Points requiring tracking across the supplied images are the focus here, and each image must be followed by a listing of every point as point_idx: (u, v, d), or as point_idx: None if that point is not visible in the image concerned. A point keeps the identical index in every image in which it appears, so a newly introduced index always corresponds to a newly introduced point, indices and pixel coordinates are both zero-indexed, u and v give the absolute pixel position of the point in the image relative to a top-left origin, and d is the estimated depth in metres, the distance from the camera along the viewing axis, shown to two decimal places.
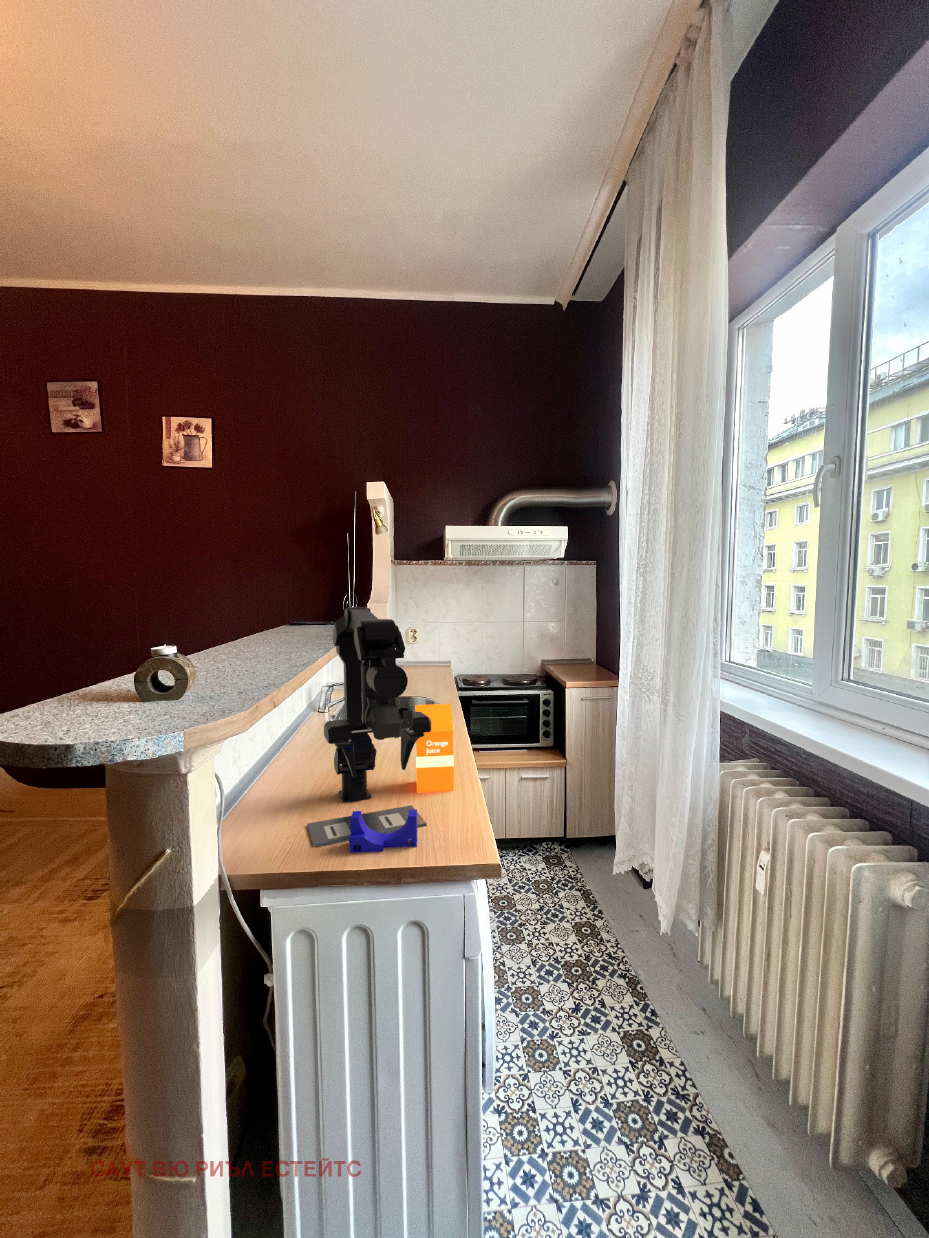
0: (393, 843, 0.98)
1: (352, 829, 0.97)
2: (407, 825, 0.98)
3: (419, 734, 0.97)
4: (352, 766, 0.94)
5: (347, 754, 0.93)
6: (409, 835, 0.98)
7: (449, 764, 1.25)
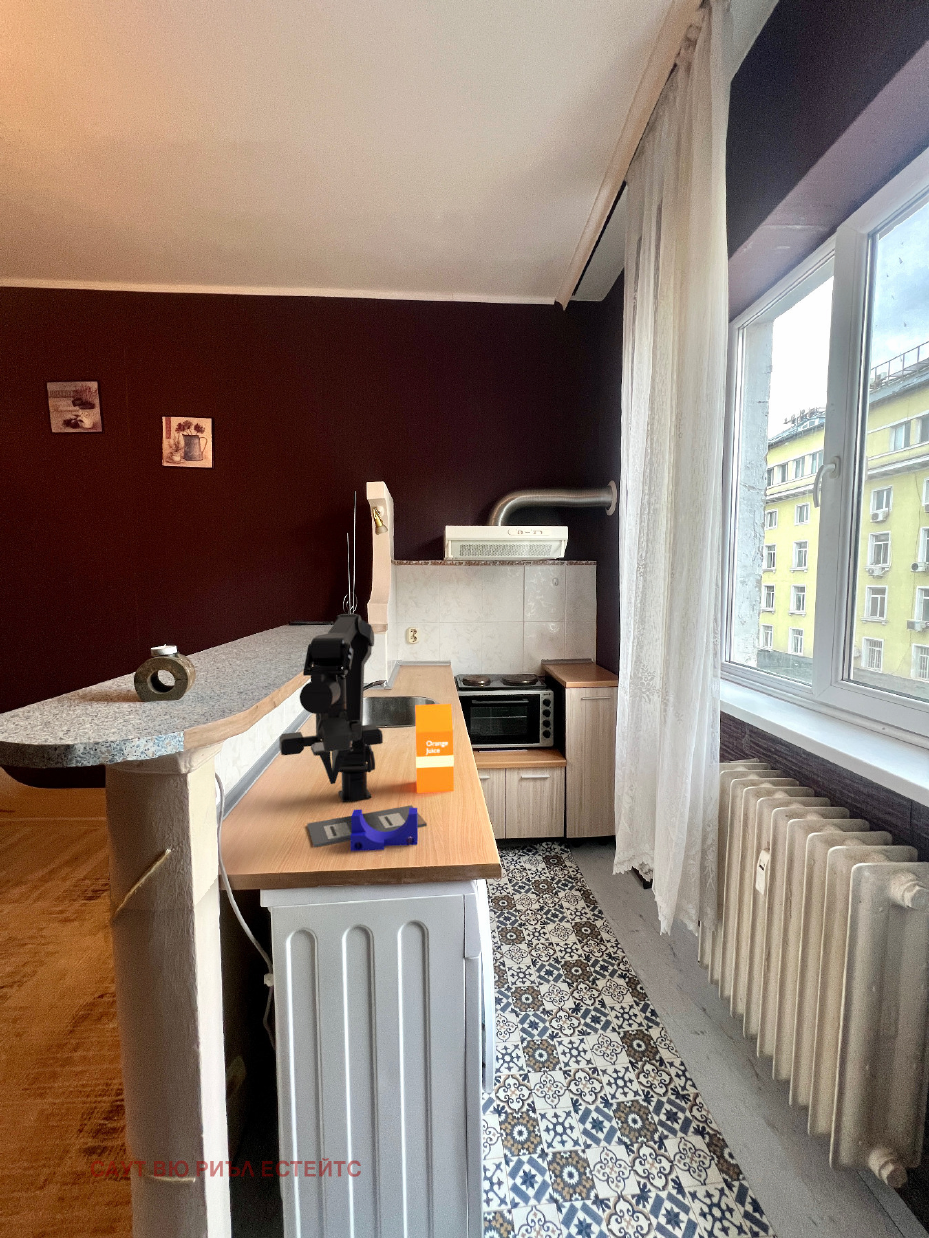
0: (394, 841, 0.98)
1: (353, 827, 0.98)
2: (408, 823, 0.98)
3: (348, 749, 1.01)
4: (329, 773, 1.01)
5: (324, 762, 1.00)
6: (410, 833, 0.98)
7: (449, 764, 1.25)
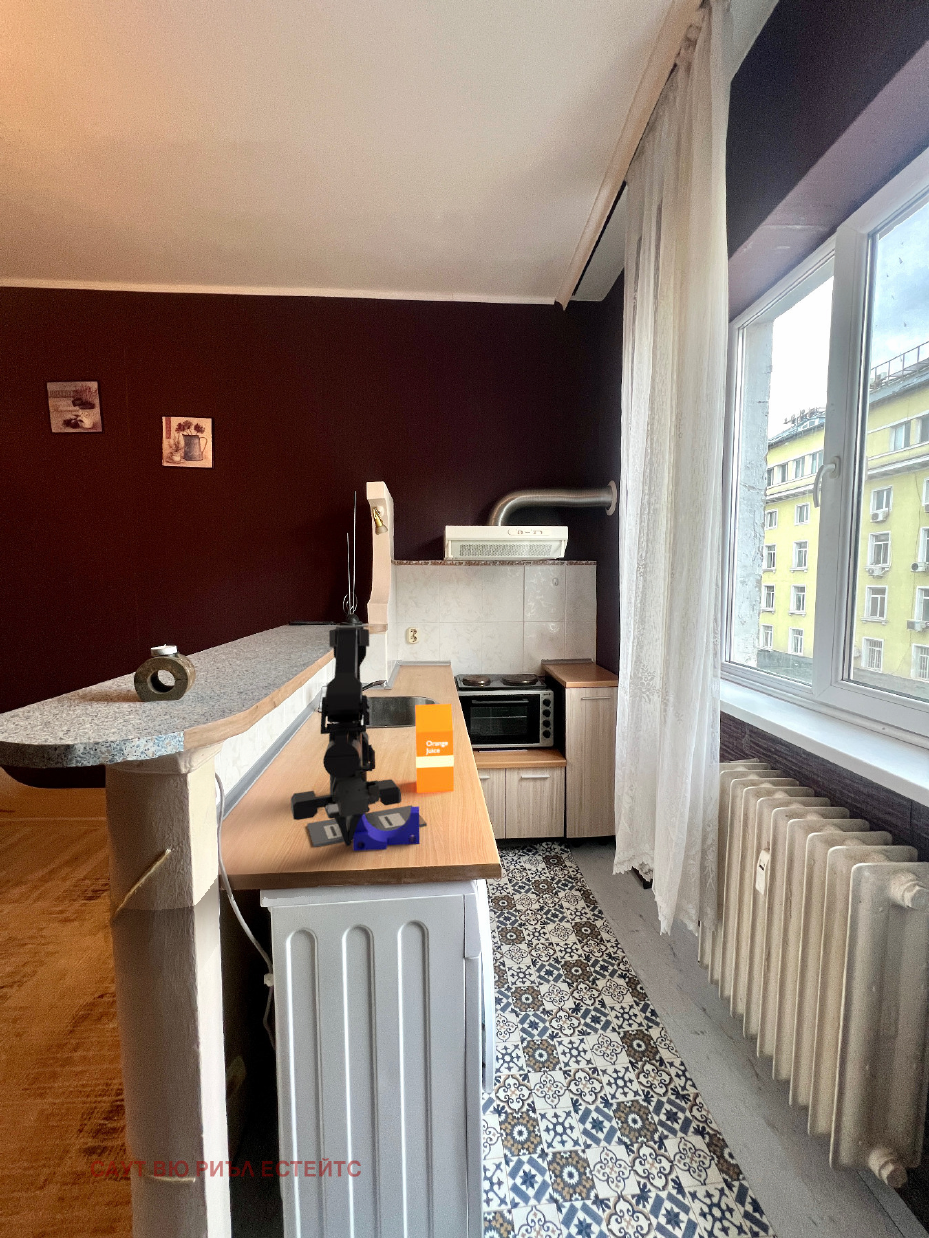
0: (396, 840, 0.99)
1: None
2: (410, 822, 0.99)
3: None
4: (345, 835, 0.94)
5: (339, 824, 0.93)
6: (412, 832, 0.99)
7: (449, 764, 1.25)
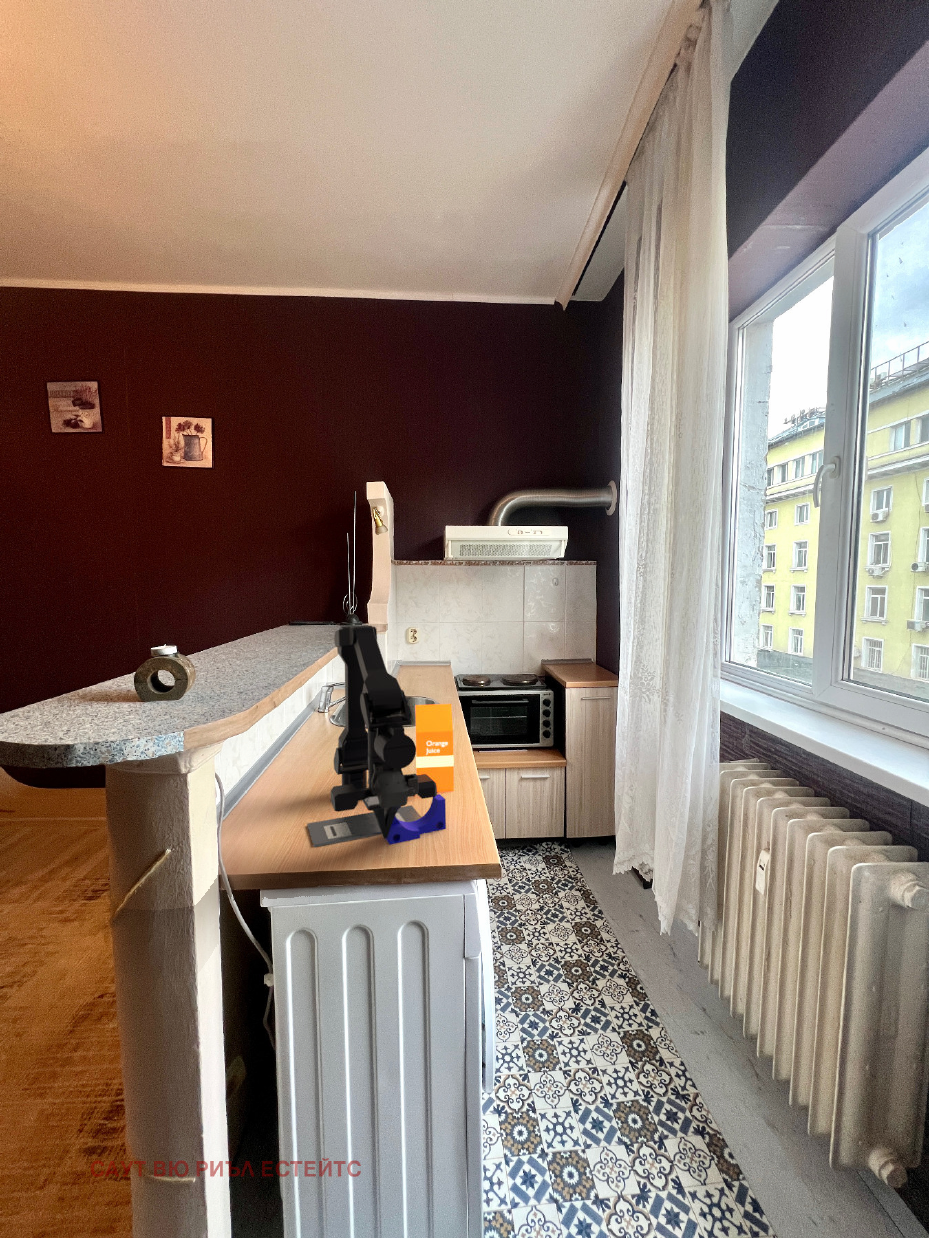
0: (425, 828, 1.03)
1: None
2: (437, 809, 1.04)
3: None
4: (383, 827, 0.97)
5: (378, 816, 0.96)
6: (439, 818, 1.04)
7: (449, 764, 1.25)
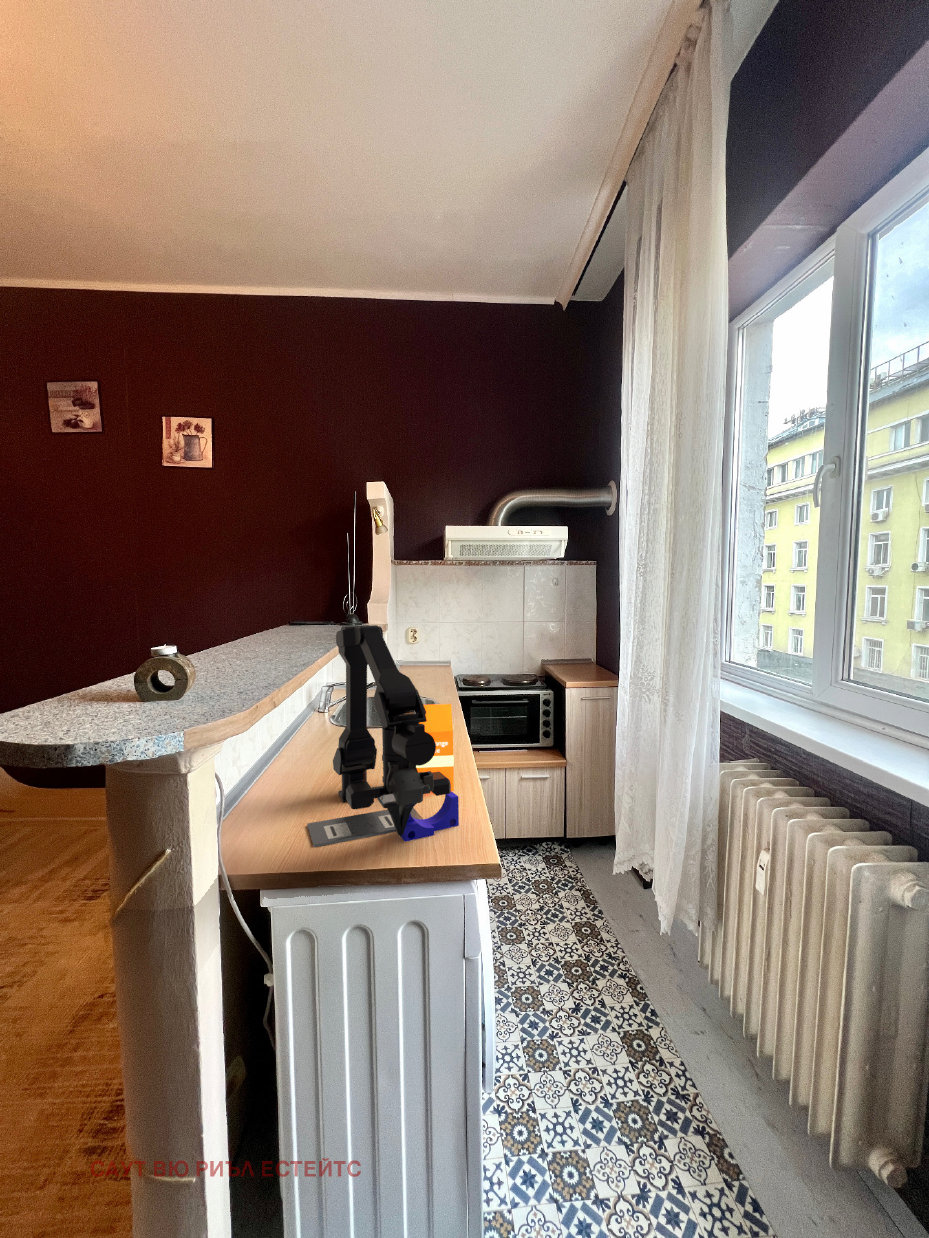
0: (439, 825, 1.05)
1: None
2: (451, 806, 1.06)
3: None
4: (398, 825, 0.98)
5: (393, 814, 0.97)
6: (453, 815, 1.06)
7: (449, 764, 1.25)
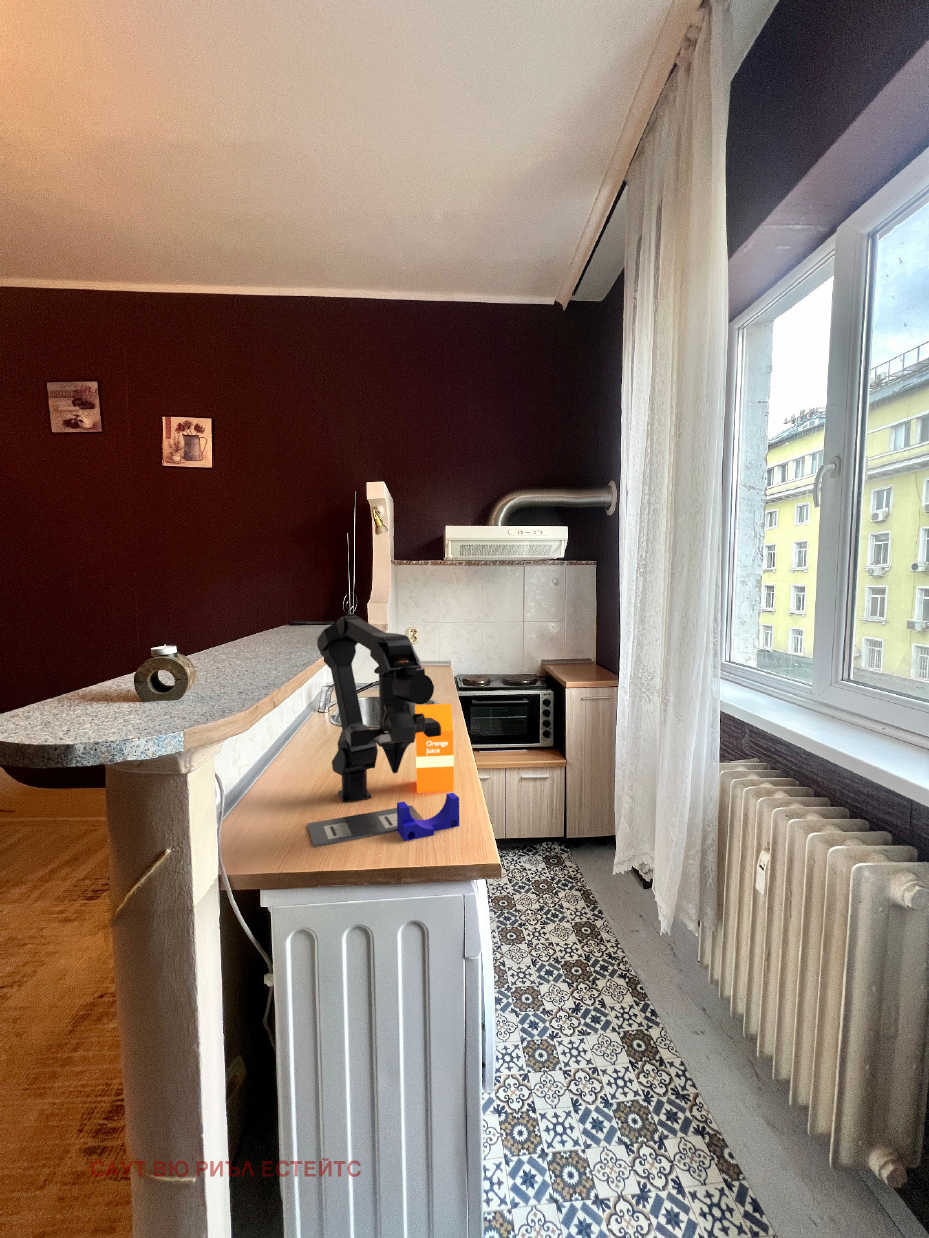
0: (439, 826, 1.04)
1: (403, 819, 1.01)
2: (451, 807, 1.05)
3: (410, 740, 1.07)
4: (393, 763, 1.08)
5: (388, 753, 1.07)
6: (453, 816, 1.06)
7: (449, 764, 1.25)
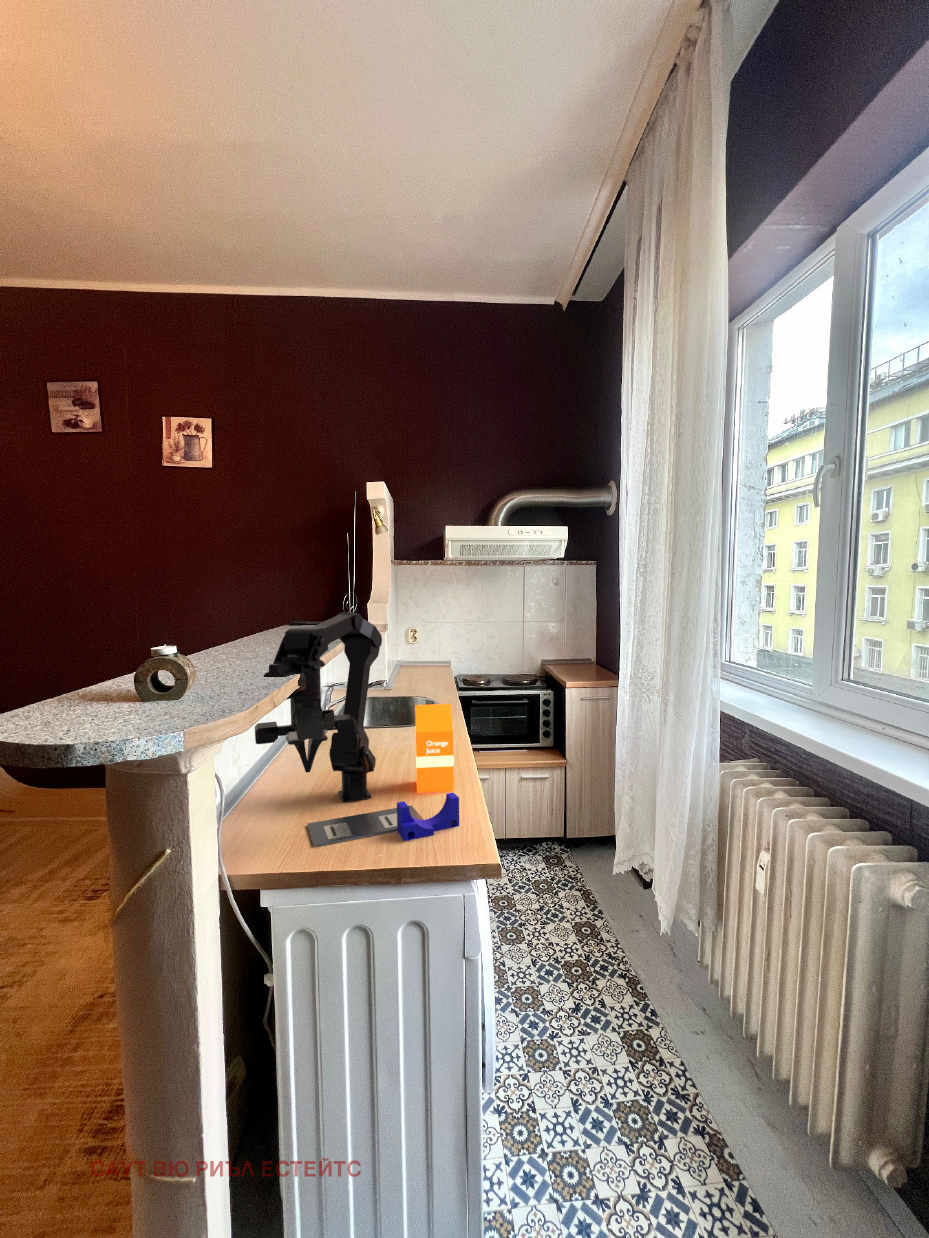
0: (439, 826, 1.04)
1: (403, 819, 1.01)
2: (451, 807, 1.05)
3: (322, 738, 1.02)
4: (304, 762, 1.03)
5: (299, 751, 1.02)
6: (453, 816, 1.06)
7: (449, 764, 1.25)
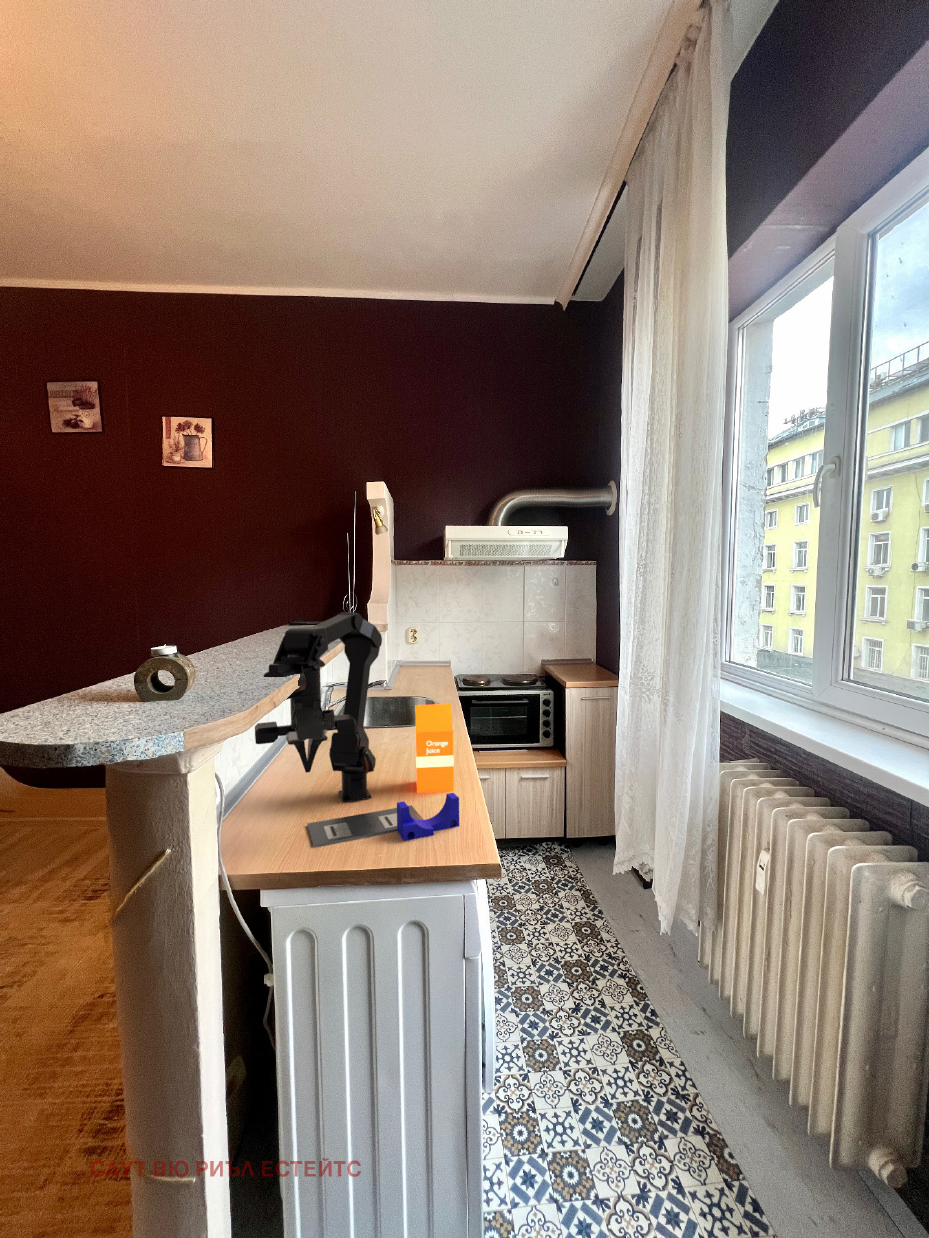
0: (439, 826, 1.04)
1: (403, 819, 1.01)
2: (451, 807, 1.05)
3: (322, 738, 1.02)
4: (304, 762, 1.03)
5: (299, 751, 1.02)
6: (453, 816, 1.06)
7: (449, 764, 1.25)
